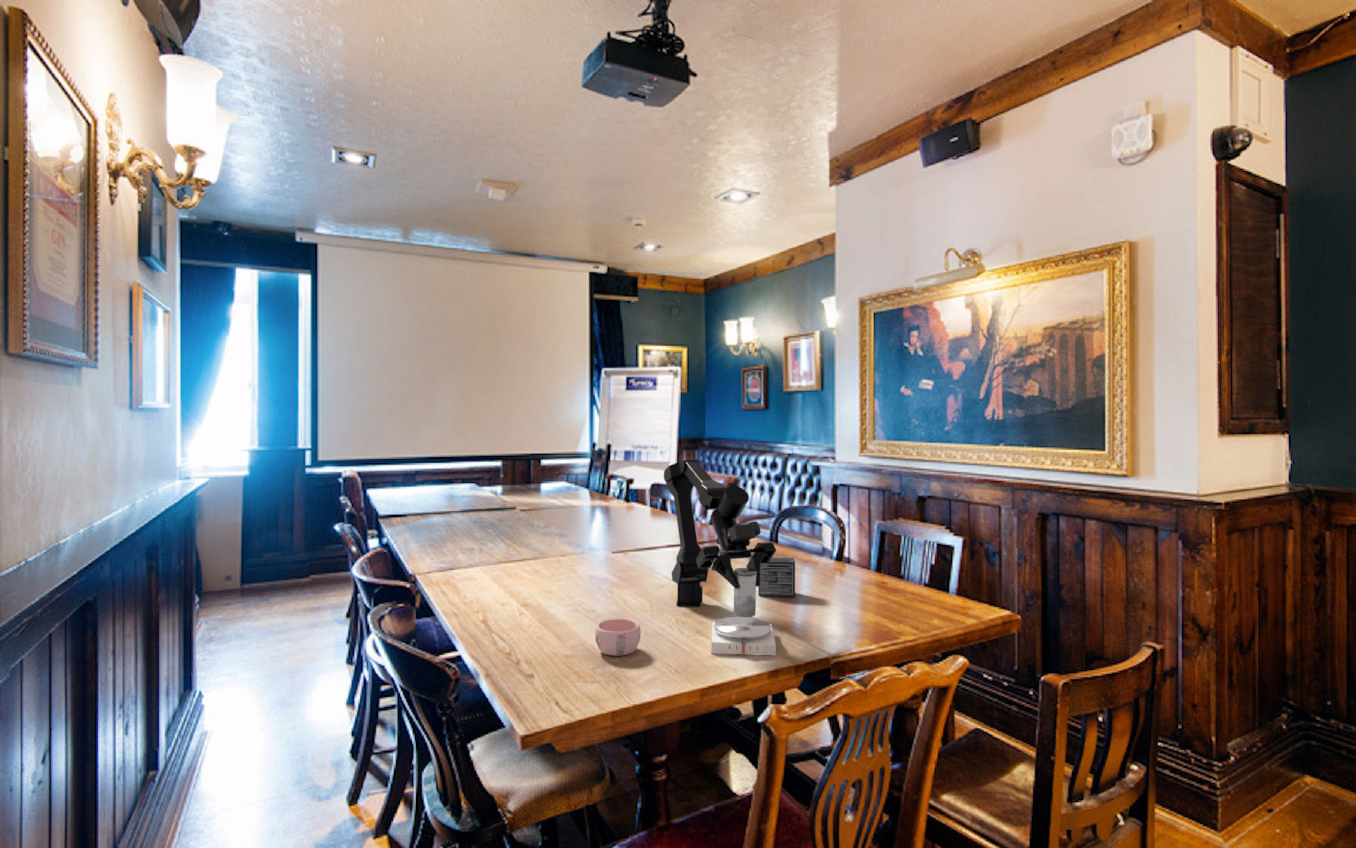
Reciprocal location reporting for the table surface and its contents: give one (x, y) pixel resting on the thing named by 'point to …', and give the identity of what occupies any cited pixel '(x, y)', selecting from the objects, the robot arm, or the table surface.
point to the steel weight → (745, 592)
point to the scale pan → (742, 628)
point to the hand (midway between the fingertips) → (747, 586)
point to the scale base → (734, 645)
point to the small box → (777, 578)
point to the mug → (617, 636)
